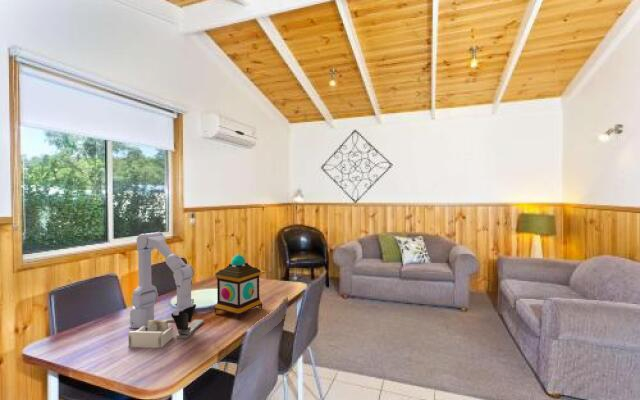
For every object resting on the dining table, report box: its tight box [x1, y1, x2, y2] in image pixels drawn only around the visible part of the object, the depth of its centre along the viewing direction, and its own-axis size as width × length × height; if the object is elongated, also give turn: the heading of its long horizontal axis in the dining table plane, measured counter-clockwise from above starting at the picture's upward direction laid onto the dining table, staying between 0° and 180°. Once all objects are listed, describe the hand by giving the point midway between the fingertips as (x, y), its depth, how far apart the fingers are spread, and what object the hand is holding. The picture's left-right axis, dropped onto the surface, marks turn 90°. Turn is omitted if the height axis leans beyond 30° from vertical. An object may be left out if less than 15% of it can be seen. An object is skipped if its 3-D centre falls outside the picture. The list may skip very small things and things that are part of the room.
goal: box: [127, 326, 174, 349], centre depth 129 cm, size 13×9×6 cm
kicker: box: [147, 314, 191, 335], centre depth 135 cm, size 17×4×9 cm, turn 87°
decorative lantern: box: [214, 254, 263, 321], centre depth 162 cm, size 20×20×30 cm
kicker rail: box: [176, 319, 205, 339], centre depth 141 cm, size 4×17×1 cm, turn 177°
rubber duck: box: [149, 322, 157, 331], centre depth 131 cm, size 5×7×8 cm
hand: (184, 325), depth 135 cm, fingers open, 7 cm apart
